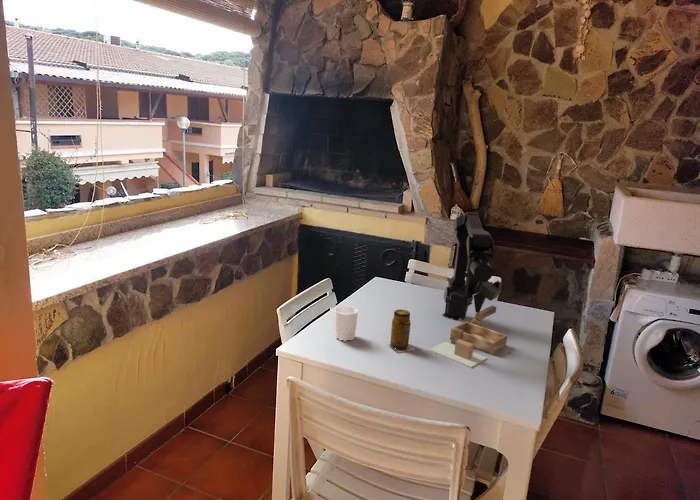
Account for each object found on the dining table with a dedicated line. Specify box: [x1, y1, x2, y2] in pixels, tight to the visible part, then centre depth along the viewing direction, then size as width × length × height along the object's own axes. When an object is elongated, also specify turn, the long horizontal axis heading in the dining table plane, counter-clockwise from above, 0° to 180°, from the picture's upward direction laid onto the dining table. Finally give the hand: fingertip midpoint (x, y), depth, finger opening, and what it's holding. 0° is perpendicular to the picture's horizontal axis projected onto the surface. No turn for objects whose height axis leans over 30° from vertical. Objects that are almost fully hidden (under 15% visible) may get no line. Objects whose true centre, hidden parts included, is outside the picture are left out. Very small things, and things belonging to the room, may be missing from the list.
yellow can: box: [384, 308, 417, 353], centre depth 171 cm, size 7×8×12 cm
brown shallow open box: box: [449, 318, 508, 356], centre depth 178 cm, size 16×15×5 cm
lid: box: [428, 339, 488, 369], centre depth 168 cm, size 16×10×6 cm, turn 47°
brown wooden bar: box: [474, 305, 497, 321], centre depth 189 cm, size 2×12×2 cm, turn 137°
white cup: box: [334, 305, 359, 341], centre depth 176 cm, size 8×8×10 cm
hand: (470, 316), depth 171 cm, fingers open, 9 cm apart
